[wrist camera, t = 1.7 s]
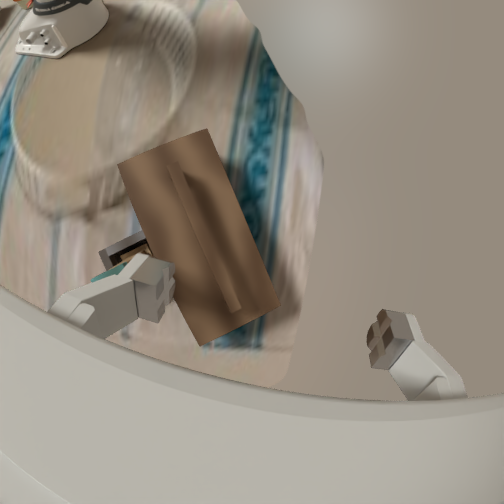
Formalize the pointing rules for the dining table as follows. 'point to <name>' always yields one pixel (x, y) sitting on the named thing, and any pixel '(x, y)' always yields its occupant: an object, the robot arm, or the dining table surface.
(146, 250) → the wooden key
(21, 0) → the reusable coffee cup
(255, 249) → the toolbox
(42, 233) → the dining table surface
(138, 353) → the robot arm
